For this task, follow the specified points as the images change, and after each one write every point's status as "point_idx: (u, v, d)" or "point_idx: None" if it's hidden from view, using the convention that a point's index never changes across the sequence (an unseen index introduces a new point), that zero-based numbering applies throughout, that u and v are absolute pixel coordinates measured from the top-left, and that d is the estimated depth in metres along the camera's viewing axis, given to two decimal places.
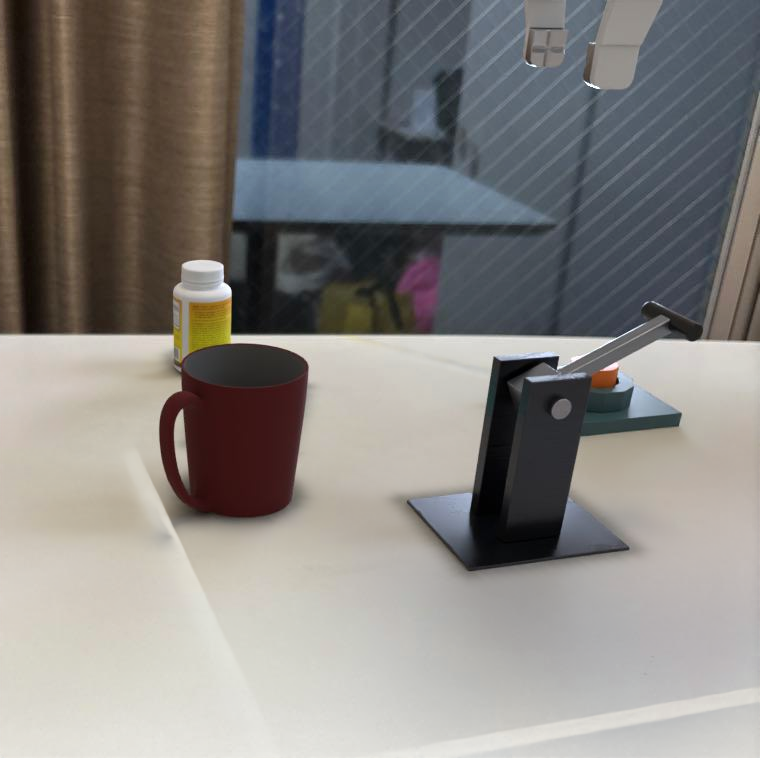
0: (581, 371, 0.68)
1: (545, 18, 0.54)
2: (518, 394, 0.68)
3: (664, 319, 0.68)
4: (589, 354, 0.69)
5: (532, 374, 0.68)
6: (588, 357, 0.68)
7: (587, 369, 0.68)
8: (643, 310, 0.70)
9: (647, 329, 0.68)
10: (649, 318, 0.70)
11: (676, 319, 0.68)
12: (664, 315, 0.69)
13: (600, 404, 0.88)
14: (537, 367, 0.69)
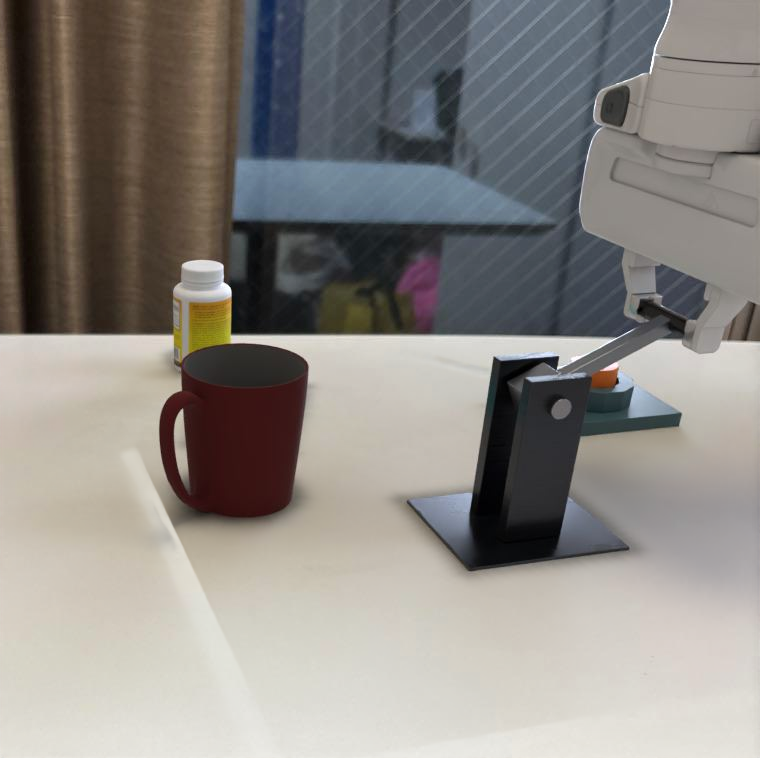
0: (581, 371, 0.68)
1: (642, 286, 0.71)
2: (518, 394, 0.68)
3: (664, 319, 0.68)
4: (589, 354, 0.69)
5: (532, 374, 0.68)
6: (588, 357, 0.68)
7: (587, 369, 0.68)
8: (643, 310, 0.70)
9: (647, 329, 0.68)
10: (649, 318, 0.70)
11: (676, 319, 0.68)
12: (664, 315, 0.69)
13: (600, 404, 0.88)
14: (537, 367, 0.69)
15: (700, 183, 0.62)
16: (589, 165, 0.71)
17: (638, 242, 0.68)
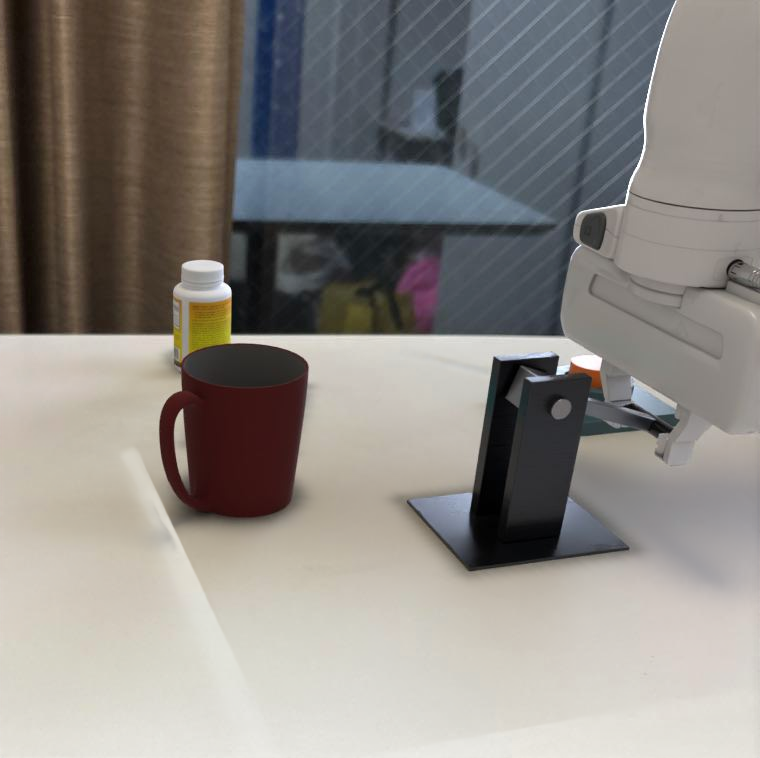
0: None
1: (619, 393, 0.75)
2: None
3: (650, 416, 0.72)
4: None
5: (544, 374, 0.69)
6: None
7: None
8: (629, 406, 0.74)
9: (636, 413, 0.71)
10: None
11: (662, 421, 0.71)
12: (650, 415, 0.72)
13: None
14: (548, 373, 0.69)
15: (671, 310, 0.66)
16: (569, 278, 0.75)
17: (614, 356, 0.72)
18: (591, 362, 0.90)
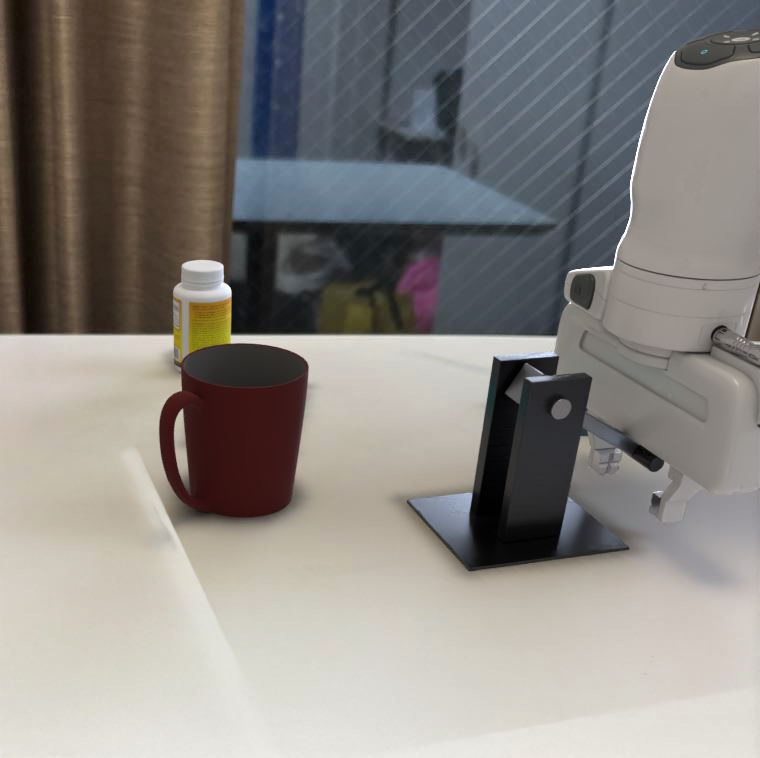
0: None
1: (604, 442, 0.77)
2: (532, 374, 0.68)
3: None
4: None
5: None
6: None
7: None
8: None
9: (624, 435, 0.72)
10: None
11: None
12: None
13: None
14: None
15: (658, 371, 0.68)
16: (560, 333, 0.77)
17: (604, 411, 0.74)
18: None
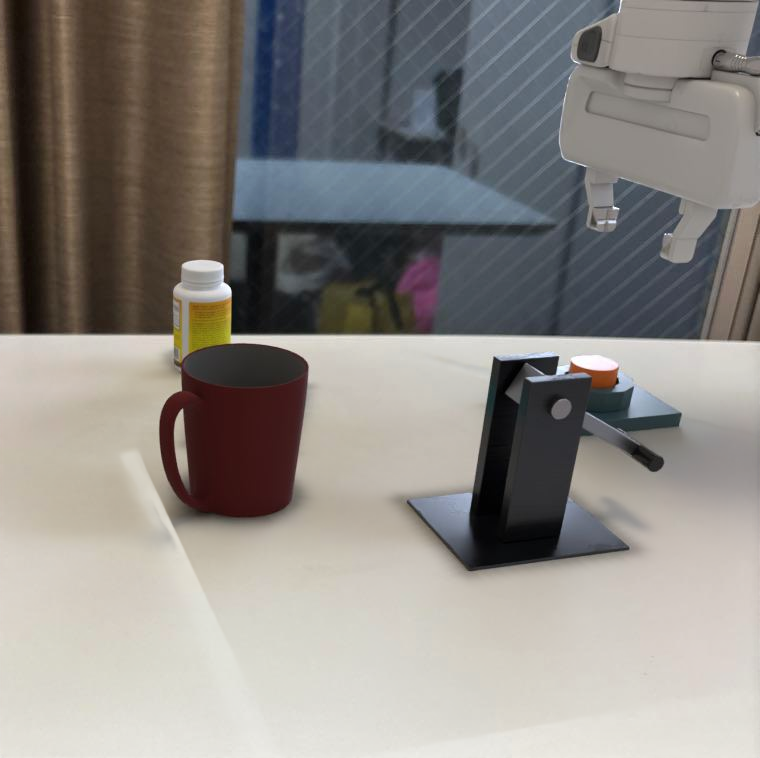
0: None
1: (602, 200, 0.83)
2: (532, 374, 0.68)
3: (636, 441, 0.73)
4: None
5: None
6: None
7: None
8: None
9: (624, 435, 0.72)
10: None
11: (646, 447, 0.72)
12: (635, 441, 0.73)
13: (600, 404, 0.88)
14: None
15: (662, 107, 0.73)
16: (567, 100, 0.82)
17: (610, 164, 0.79)
18: (591, 362, 0.90)
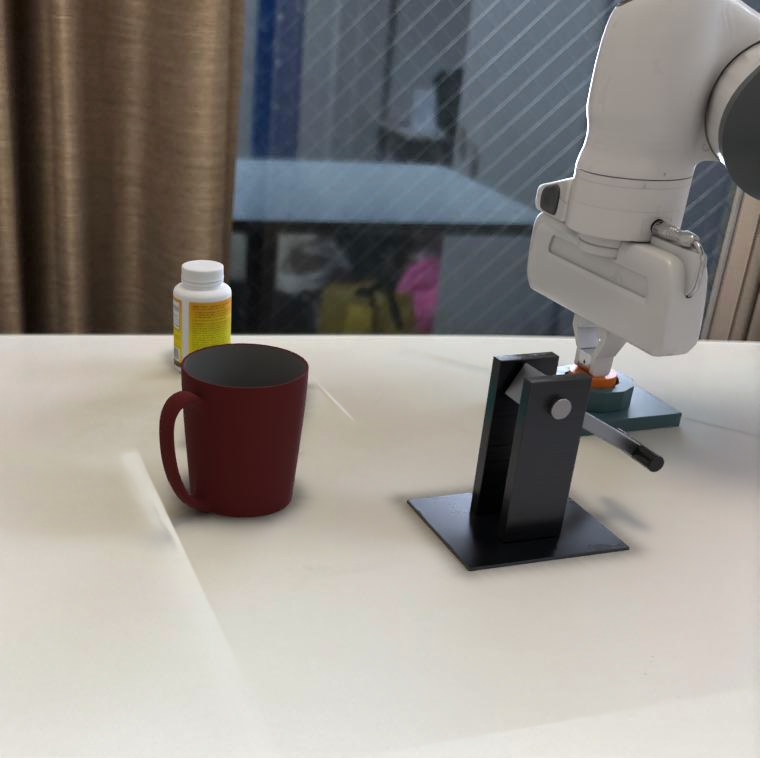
0: None
1: (588, 342, 0.90)
2: (532, 374, 0.68)
3: (636, 441, 0.73)
4: None
5: None
6: None
7: None
8: None
9: (624, 435, 0.72)
10: None
11: (646, 447, 0.72)
12: (635, 441, 0.73)
13: (600, 404, 0.88)
14: None
15: (610, 261, 0.84)
16: (533, 239, 0.93)
17: (568, 301, 0.89)
18: None
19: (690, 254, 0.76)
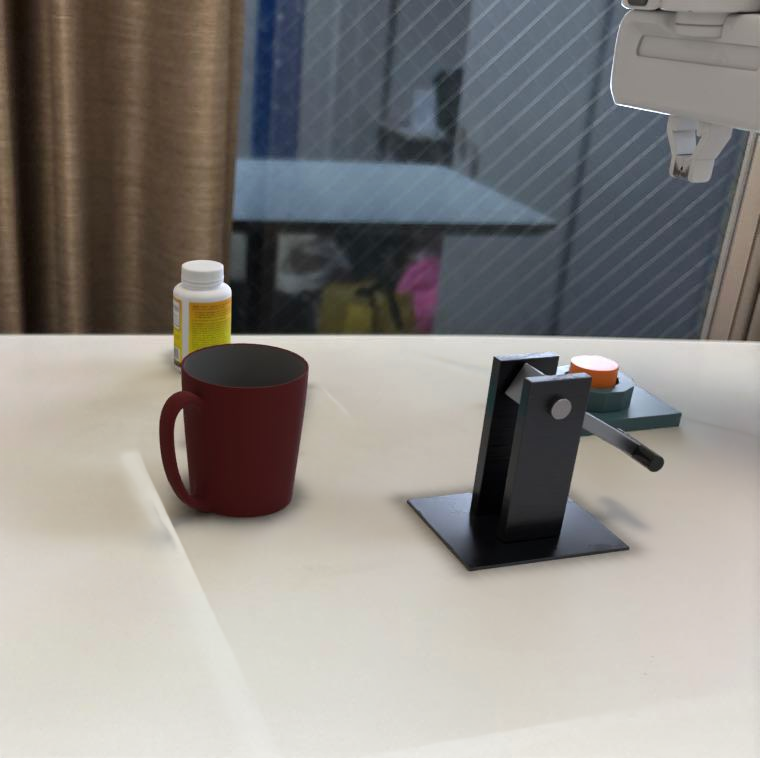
0: None
1: (685, 148, 0.83)
2: (532, 374, 0.68)
3: (636, 441, 0.73)
4: None
5: None
6: None
7: None
8: None
9: (624, 435, 0.72)
10: None
11: (646, 447, 0.72)
12: (635, 441, 0.73)
13: (600, 404, 0.88)
14: None
15: (712, 43, 0.77)
16: (618, 45, 0.86)
17: (662, 103, 0.83)
18: (591, 362, 0.90)
19: None
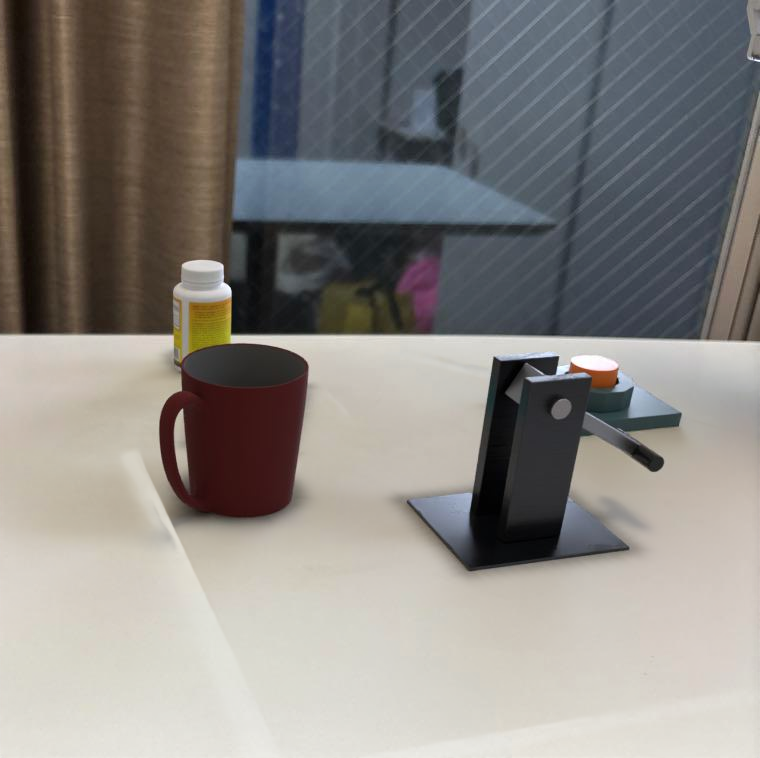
0: None
1: None
2: (532, 374, 0.68)
3: (636, 441, 0.73)
4: None
5: None
6: None
7: None
8: None
9: (624, 435, 0.72)
10: None
11: (646, 447, 0.72)
12: (635, 441, 0.73)
13: (600, 404, 0.88)
14: None
15: None
16: None
17: None
18: (591, 362, 0.90)
19: None
